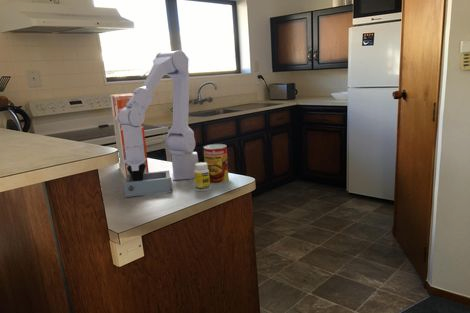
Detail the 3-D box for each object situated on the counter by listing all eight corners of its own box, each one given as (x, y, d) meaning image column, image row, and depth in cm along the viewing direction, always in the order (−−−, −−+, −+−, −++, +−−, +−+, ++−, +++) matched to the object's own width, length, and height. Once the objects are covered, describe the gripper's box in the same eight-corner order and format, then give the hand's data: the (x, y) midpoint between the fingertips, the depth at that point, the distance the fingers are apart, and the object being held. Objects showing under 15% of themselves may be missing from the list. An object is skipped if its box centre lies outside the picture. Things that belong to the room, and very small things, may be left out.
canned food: (202, 183, 127) (200, 148, 125) (210, 176, 135) (207, 144, 132) (224, 183, 125) (222, 148, 123) (231, 177, 133) (229, 144, 130)
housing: (170, 182, 130) (169, 170, 129) (171, 191, 121) (170, 177, 120) (128, 187, 127) (127, 174, 126) (126, 196, 118) (124, 182, 117)
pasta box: (149, 177, 138) (140, 95, 132) (126, 181, 135) (116, 97, 129) (139, 164, 159) (130, 93, 152) (119, 167, 156) (109, 94, 149)
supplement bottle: (204, 192, 118) (202, 166, 116) (192, 190, 121) (190, 164, 119) (213, 187, 122) (211, 162, 120) (201, 186, 124) (199, 161, 123)
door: (172, 190, 120) (171, 177, 119) (172, 192, 118) (171, 178, 117) (125, 196, 117) (123, 182, 116) (125, 197, 116) (123, 183, 115)
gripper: (122, 142, 124) (127, 182, 127) (118, 151, 110) (124, 195, 113) (144, 140, 125) (149, 180, 128) (143, 149, 111) (148, 192, 114)
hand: (139, 187), depth 121 cm, fingers closed
